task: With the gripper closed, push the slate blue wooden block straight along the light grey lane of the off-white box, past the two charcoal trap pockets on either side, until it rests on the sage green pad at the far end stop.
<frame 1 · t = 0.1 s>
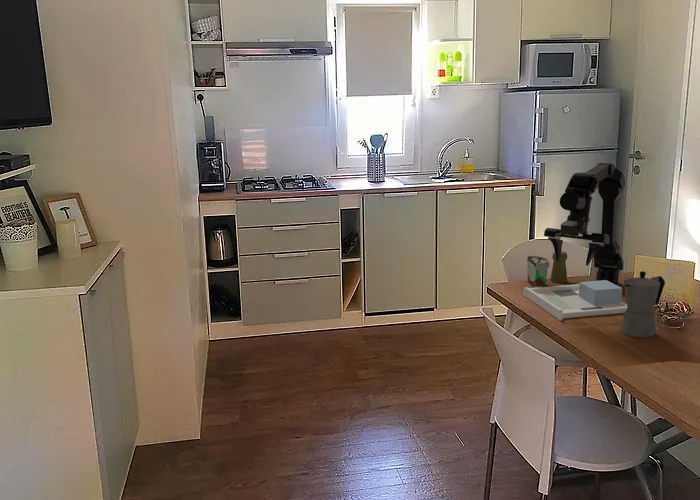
hand: (572, 263, 198), 15 cm above the table, tool pointing down, fingers open, 9 cm apart
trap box: (579, 303, 208), on the table
food container: (539, 287, 227), on the table
coffeepot: (640, 332, 182), on the table
slate block: (599, 299, 209), point 1 cm above the table, touching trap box
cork: (558, 281, 234), on the table
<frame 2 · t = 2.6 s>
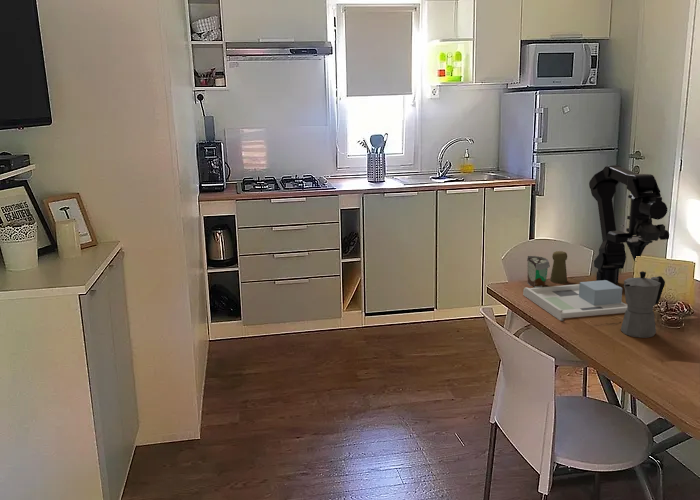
hand: (636, 261, 208), 13 cm above the table, tool pointing down, fingers closed
nothing on the table moved.
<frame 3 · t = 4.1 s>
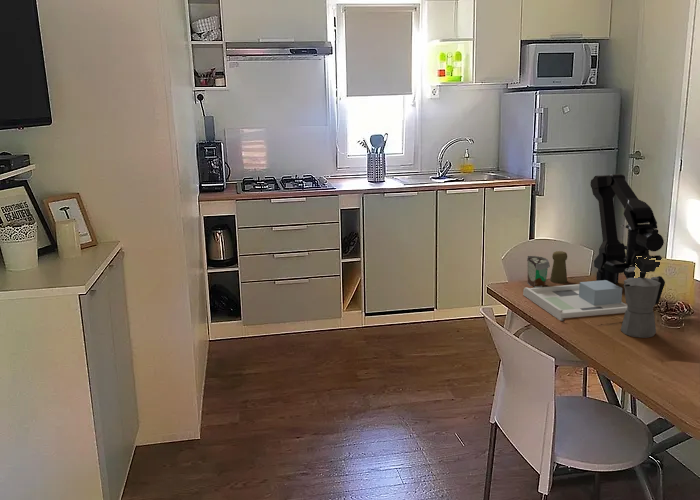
hand: (633, 290, 210), 3 cm above the table, tool pointing down, fingers closed
nothing on the table moved.
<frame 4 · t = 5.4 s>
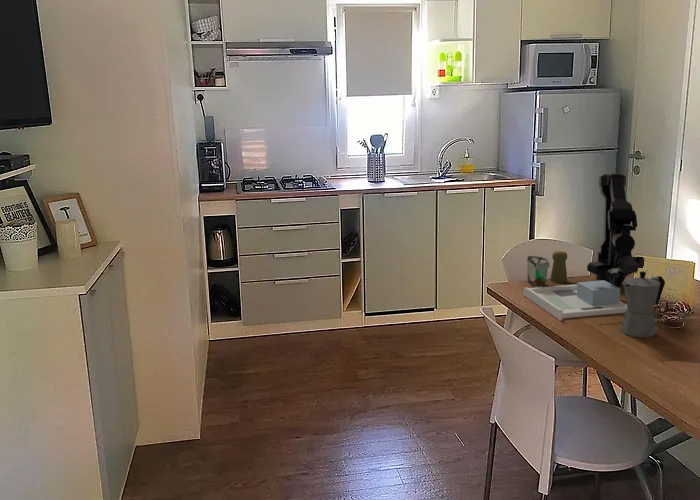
hand: (616, 291, 209), 3 cm above the table, tool pointing down, fingers closed
slate block: (597, 299, 208), point 1 cm above the table, touching gripper, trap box
everything else where it was.
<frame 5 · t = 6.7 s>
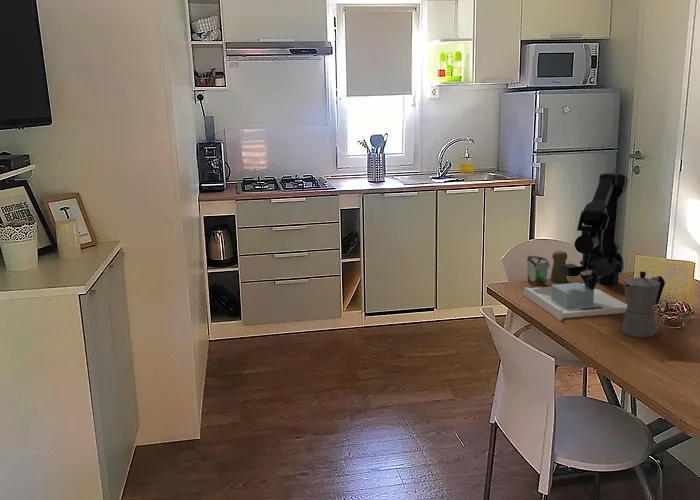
hand: (590, 293, 207), 3 cm above the table, tool pointing down, fingers closed
slate block: (571, 302, 207), point 1 cm above the table, touching gripper, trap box
everything else where it was.
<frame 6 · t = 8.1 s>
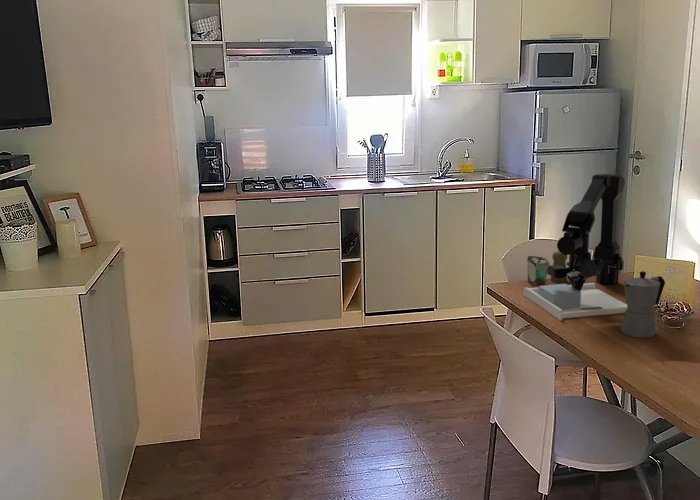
hand: (576, 295, 207), 3 cm above the table, tool pointing down, fingers closed
slate block: (558, 303, 206), point 1 cm above the table, touching gripper, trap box
everything else where it was.
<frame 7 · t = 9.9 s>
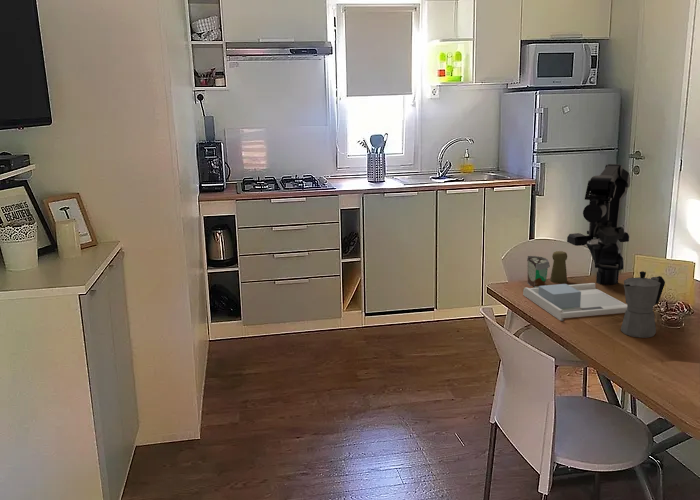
hand: (596, 263, 207), 13 cm above the table, tool pointing down, fingers closed
slate block: (558, 303, 206), point 1 cm above the table, touching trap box
everything else where it was.
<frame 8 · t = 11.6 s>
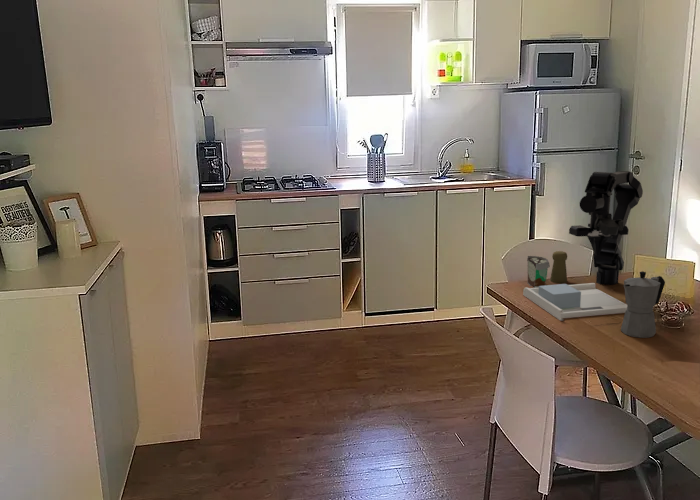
hand: (596, 255, 216), 13 cm above the table, tool pointing down, fingers closed
nothing on the table moved.
at the end: slate block 1.5 cm from the target spot, point 0.8 cm above the table; slate block moved 14.5 cm from its start; slate block tilted 0° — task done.
